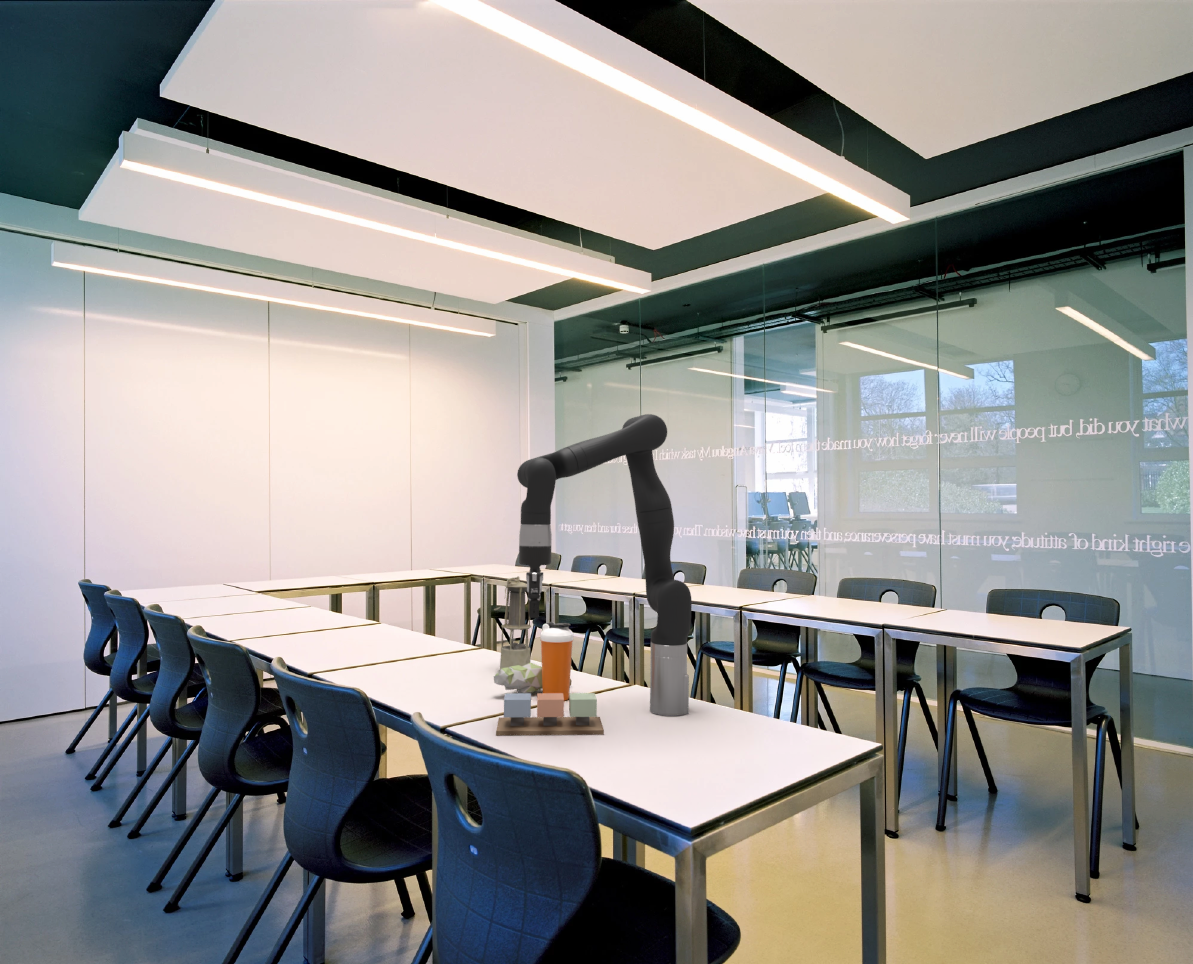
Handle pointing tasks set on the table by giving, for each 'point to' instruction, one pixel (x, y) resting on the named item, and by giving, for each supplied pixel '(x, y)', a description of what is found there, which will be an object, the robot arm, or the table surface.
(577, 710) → the button sage
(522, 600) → the lamp
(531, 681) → the decorative object
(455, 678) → the table surface
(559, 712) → the button terracotta
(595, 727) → the board
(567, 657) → the shaker bottle
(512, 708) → the button slate
